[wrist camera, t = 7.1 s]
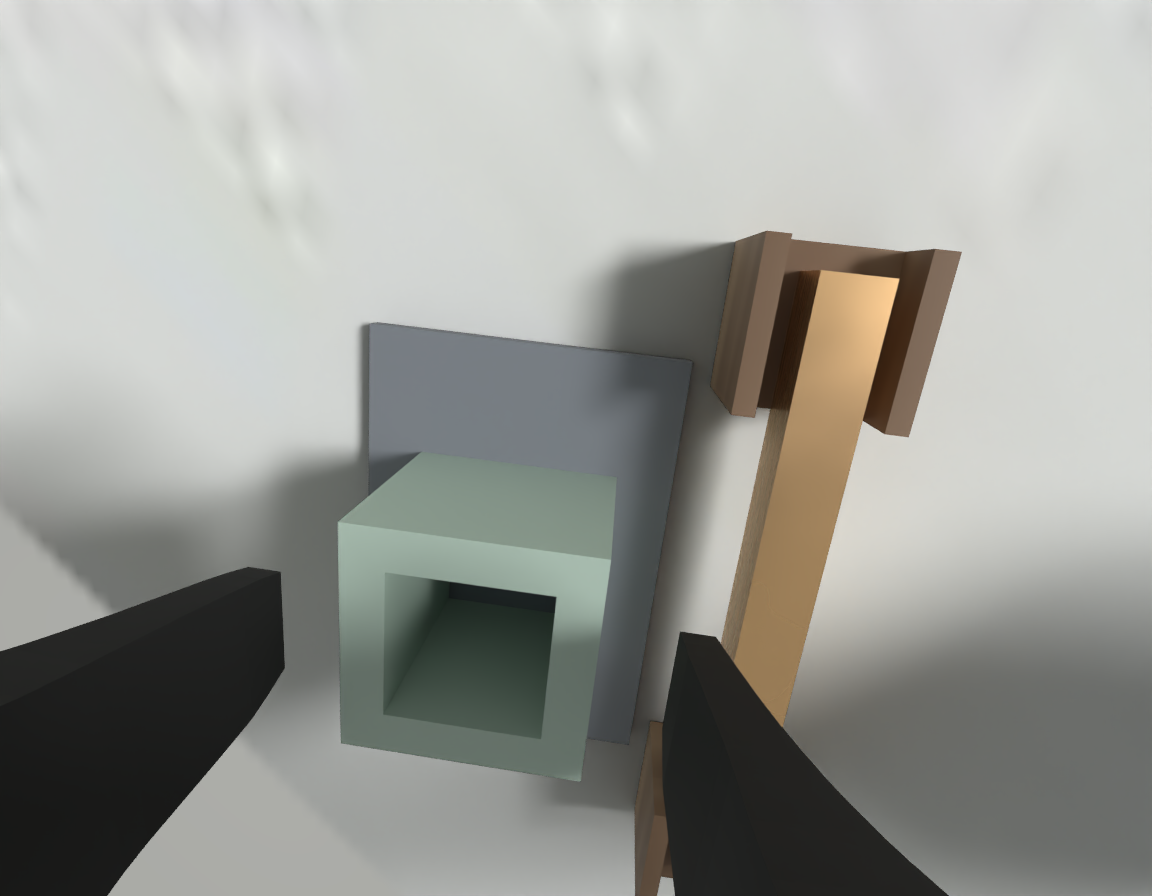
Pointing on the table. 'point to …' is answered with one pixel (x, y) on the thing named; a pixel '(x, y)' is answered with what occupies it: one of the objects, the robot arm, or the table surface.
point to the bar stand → (749, 382)
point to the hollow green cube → (474, 613)
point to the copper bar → (803, 473)
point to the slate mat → (545, 456)
